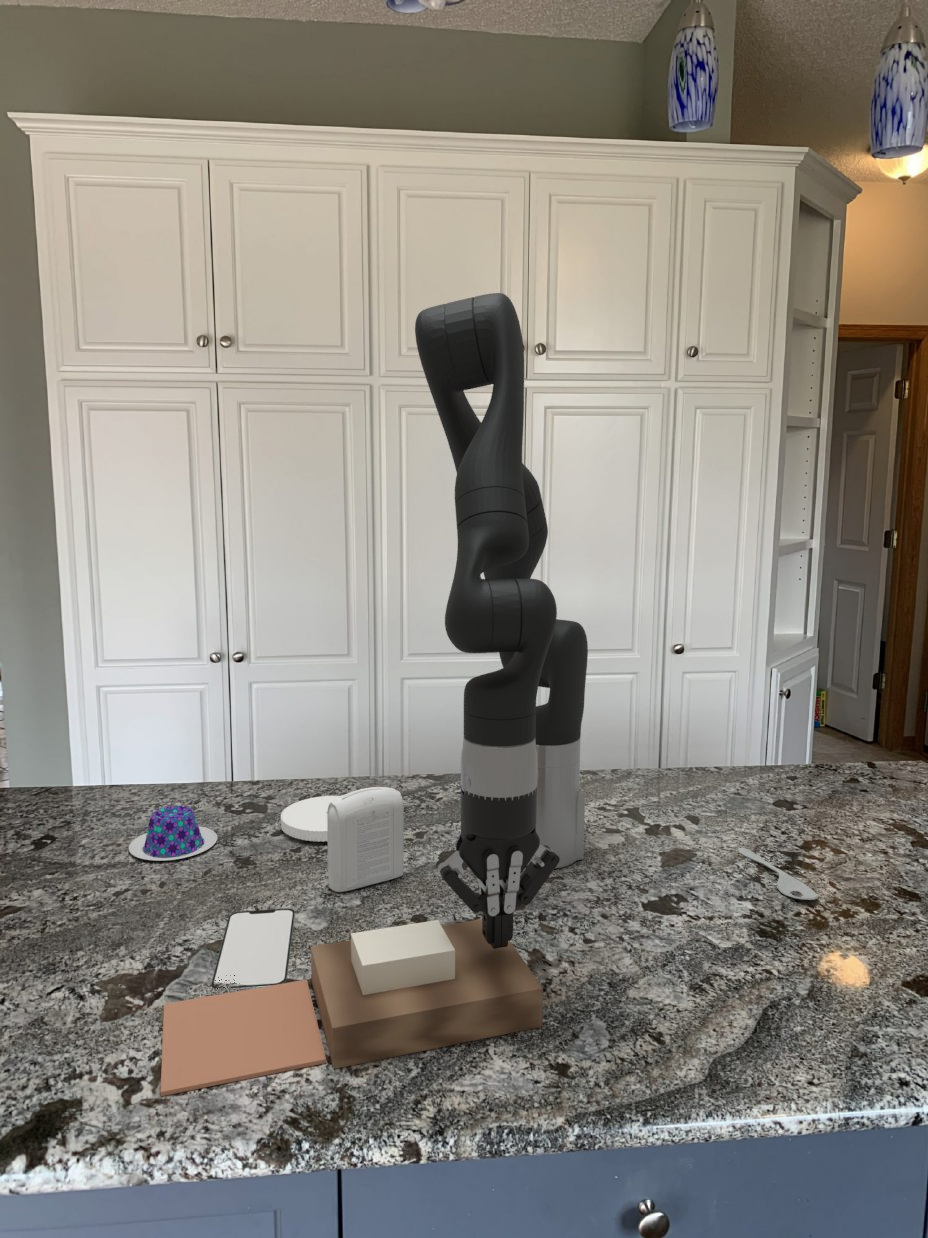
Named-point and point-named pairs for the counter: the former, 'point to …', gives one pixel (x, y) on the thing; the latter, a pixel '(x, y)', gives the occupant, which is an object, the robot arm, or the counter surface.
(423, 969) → the cream brick
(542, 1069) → the counter surface
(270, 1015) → the mat
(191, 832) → the purple patterned hat
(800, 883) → the spoon
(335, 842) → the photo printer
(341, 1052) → the deck
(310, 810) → the plastic lid
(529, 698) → the robot arm
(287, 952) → the smartphone
